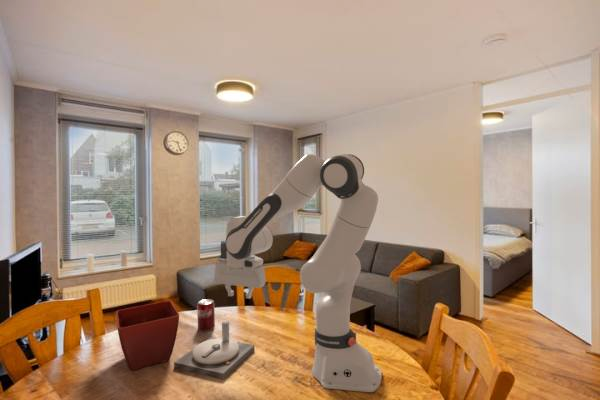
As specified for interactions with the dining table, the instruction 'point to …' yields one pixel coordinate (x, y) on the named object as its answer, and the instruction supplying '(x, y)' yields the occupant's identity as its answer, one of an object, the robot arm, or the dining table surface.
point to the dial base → (214, 369)
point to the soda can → (206, 315)
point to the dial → (216, 348)
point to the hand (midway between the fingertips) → (239, 296)
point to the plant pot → (147, 333)
